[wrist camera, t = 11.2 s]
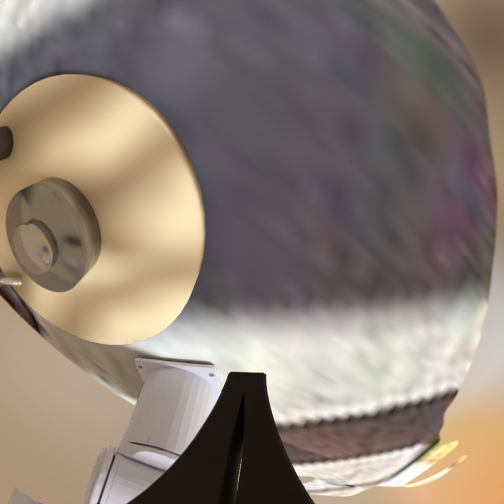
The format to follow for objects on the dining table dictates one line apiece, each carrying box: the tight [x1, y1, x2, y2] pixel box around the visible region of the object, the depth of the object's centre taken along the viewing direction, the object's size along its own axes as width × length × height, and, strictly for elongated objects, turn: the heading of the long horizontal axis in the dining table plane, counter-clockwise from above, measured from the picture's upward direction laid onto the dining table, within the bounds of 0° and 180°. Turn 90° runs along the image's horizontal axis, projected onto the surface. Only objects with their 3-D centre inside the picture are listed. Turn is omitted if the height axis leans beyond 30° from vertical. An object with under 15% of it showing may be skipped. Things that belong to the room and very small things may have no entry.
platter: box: [0, 74, 206, 345], centre depth 15 cm, size 20×20×6 cm
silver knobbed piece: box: [0, 268, 22, 286], centre depth 19 cm, size 3×7×6 cm, turn 92°
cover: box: [6, 177, 101, 292], centre depth 15 cm, size 7×7×3 cm
